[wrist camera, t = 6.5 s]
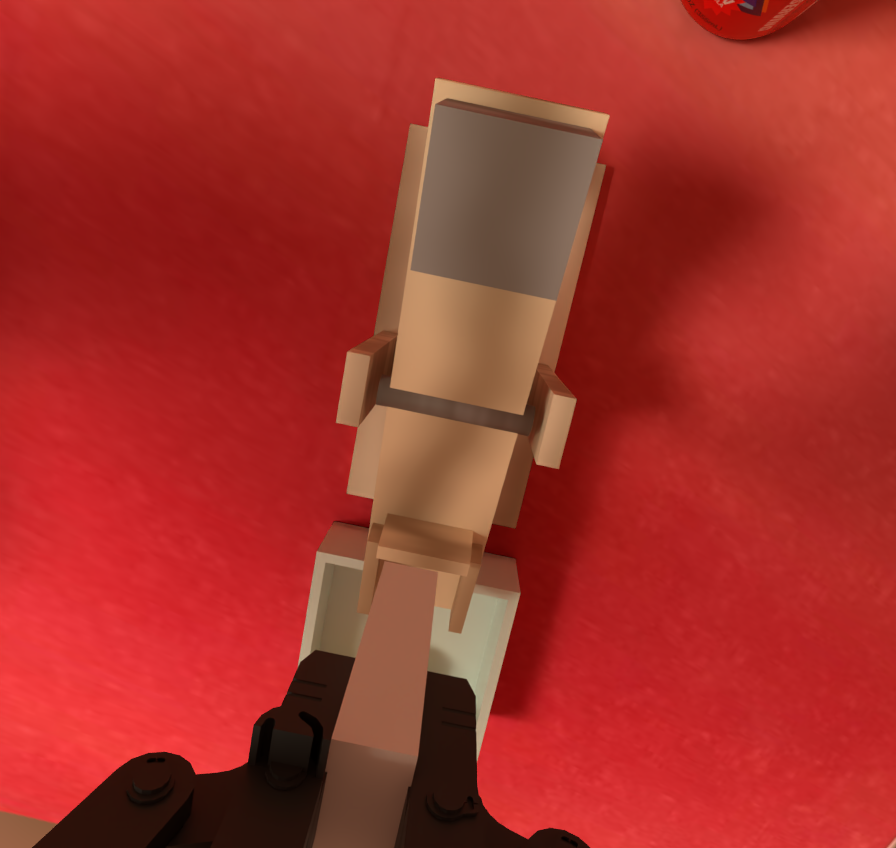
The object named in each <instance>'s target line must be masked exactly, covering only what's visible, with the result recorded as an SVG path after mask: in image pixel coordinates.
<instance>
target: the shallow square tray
mask: <svg viewBox="0 0 896 848" xmlns="http://www.w3.org/2000/svg"><path fill="white" fill-rule="evenodd" d="M368 533H369V528H365V527H360V526H355V525H351V524H346V523H341V522H336V521H334V522H333V524H332V526H331V527H330V529H329V531H328V533H327V534H326V536H325V538H324V540H323V541H322V543H321V545H320V547H319V548H318V550H317V553H316V560H315V566H314V572H313V578H312V584H311V590H310V596H309V602H308V608H307V614H306V621H305V627H304V633H303V639H302V645H301V651H300V657H299V663H298V666H299V664H300V662H301V661H302V660H303V659H305V658H306V657H307V656H308V655H310V654H311V653H312V652H313V651H315V650H320V651H325V652H329V653H334V654H339V655H344V656H349V657H354V658H356V655H357V652H358V648H359V645H360V642H361V638H362V635H363V632H364V628H365V625H366V622H367V618H368V615H367V614H362V613H357V607H358V600H359V593H360V586H361V580H362V573H363V566H364V559H365V552H366V546H367V540H368ZM520 594H521V592H520V586H519V579H518V572H517V566H516V559H515V558H510V557H506V556H501V555H496V554H491V553H486V552H484V553H483V556H482V560H481V567H480V570H479V574H478V577H477V581H476V584H475V588H474V591H473V595H472V598H471V601H470V605H469V608H468V612H467V615H466V619H465V622H464V626H463V629H462V633H461V634H459V633H455V632H450V631H448V630H449V621H450V613H451V610H450V609H446V608H441V607H436V606H434V613H433V623H432V632H431V641H430V650H429V660H428V669H427V671H430V672H435V673H440V674H445V675H450V676H454V677H459V678H464V679H467V680H468V682H469V684H470V686H471V688H472V690H473V692H474V694H475V695H476V742H477V760H478V756H479V752H480V748H481V744H482V741H483V737H484V733H485V729H486V725H487V721H488V717H489V713H490V710H491V706H492V702H493V698H494V694H495V690H496V686H497V683H498V679H499V675H500V671H501V667H502V663H503V659H504V656H505V652H506V648H507V644H508V640H509V636H510V632H511V628H512V625H513V621H514V617H515V613H516V609H517V605H518V601H519V598H520Z"/></svg>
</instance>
